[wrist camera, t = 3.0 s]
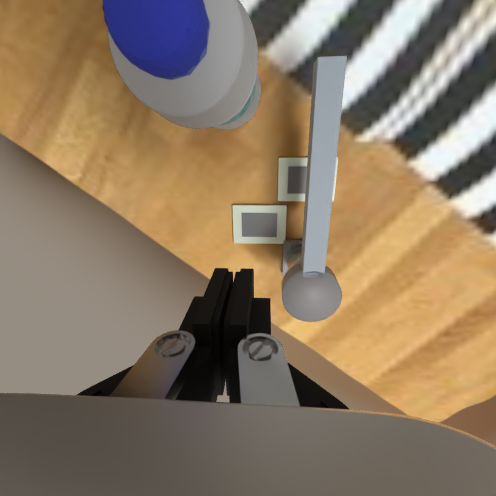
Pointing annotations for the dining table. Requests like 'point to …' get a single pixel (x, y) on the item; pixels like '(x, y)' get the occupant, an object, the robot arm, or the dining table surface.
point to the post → (291, 254)
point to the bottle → (187, 59)
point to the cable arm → (318, 200)
